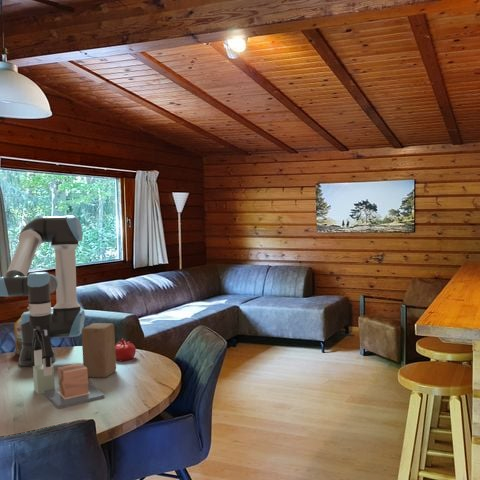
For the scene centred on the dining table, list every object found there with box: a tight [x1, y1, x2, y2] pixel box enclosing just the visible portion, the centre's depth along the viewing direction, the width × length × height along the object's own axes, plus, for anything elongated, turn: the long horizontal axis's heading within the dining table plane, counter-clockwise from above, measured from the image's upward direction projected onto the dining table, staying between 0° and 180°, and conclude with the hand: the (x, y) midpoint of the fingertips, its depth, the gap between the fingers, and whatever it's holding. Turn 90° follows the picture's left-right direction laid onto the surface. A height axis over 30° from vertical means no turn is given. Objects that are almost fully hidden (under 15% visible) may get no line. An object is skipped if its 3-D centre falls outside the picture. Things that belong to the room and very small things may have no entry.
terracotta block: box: [57, 362, 89, 398], centre depth 184 cm, size 8×8×9 cm
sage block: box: [32, 365, 56, 395], centre depth 191 cm, size 6×6×9 cm
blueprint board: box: [43, 381, 105, 410], centre depth 185 cm, size 18×16×1 cm
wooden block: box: [81, 322, 117, 379], centre depth 208 cm, size 10×10×20 cm
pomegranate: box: [115, 338, 137, 362], centre depth 229 cm, size 10×10×9 cm
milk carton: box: [13, 311, 26, 356], centre depth 245 cm, size 11×11×19 cm
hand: (43, 371), depth 191 cm, fingers open, 13 cm apart
